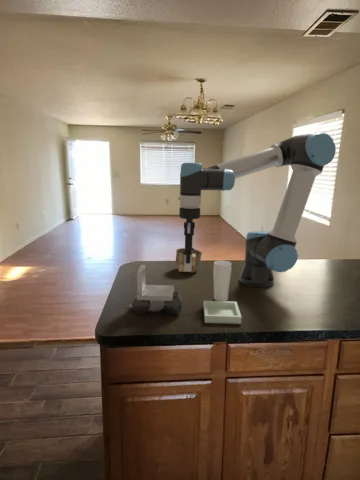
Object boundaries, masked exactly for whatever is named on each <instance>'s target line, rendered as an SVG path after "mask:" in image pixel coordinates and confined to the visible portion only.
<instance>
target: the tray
mask: <svg viewBox="0 0 360 480" xmlns="http://www.w3.org/2000/svg"><path fill="white" fill-rule="evenodd" d="M202 307H203V316H204V319H203V320H204V323H206V324H228V325H229V324H231V325H232V324H233V325H242V319H243V317H242V314H241V311H240V308H239V305H238V301H229V300H227V301H216V300H203V306H202Z"/></svg>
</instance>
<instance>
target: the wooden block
mask: <svg viewBox="0 0 360 480" xmlns="http://www.w3.org/2000/svg"><path fill="white" fill-rule="evenodd" d="M195 260H196V254H192V269H191V272H189V271H184V254H183V253H180V255H179V266H178V272H182V273H186V272H187V273H195V272H196V268H195Z"/></svg>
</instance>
